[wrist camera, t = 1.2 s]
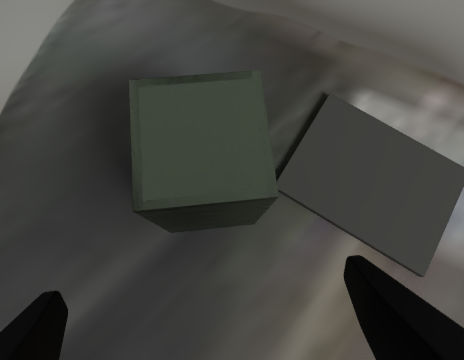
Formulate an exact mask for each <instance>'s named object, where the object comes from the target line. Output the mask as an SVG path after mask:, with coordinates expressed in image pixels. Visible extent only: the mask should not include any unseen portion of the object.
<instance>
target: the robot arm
mask: <svg viewBox="0 0 464 360" xmlns="http://www.w3.org/2000/svg"><path fill="white" fill-rule="evenodd" d="M344 281H345V284H346V287H347V290H348V293H349V295H350V298H351V301H352V304H353V307H354V310H355V313H356V316H357V318H358V321H359V324H360V326H361V329H362V331H363V333H364V335H365V337H366V340H367V342H368V344H369V346H370V348H371V350H372V352H373V354H374V356H375V359H376V360H464V328H463V327H462V326H460V325H459V324H457V323H456V322H455V321H453V320H452V319H450V318H449V317H447V316H446V315H445V314H443V313H442V312H440V311H439V310H438V309H436V308H435V307H433V306H432V305H430V304H429V303H428V302H426V301H425V300H423V299H422V298H421V297H419V296H418V295H416V294H415V293H413V292H412V291H411V290H409V289H408V288H406V287H405V286H404V285H402V284H401V283H399V282H398V281H397V280H395V279H394V278H392V277H391V276H389V275H388V274H387V273H385V272H384V271H382V270H381V269H380V268H378V267H377V266H375V265H374V264H372V263H371V262H370V261H368V260H367V259H365V258H364V257H362V256H360V255H355V256H349V257H347V259H346V264H345V270H344ZM67 317H68V308H67V306H66V304H65V302H64V300H63V298H62V296H61V294H60V292H59V291H49V292H44V293H42V294H41V295H40V296H39V297H38V298H37V299H35V300H34V301H33V302H32V303H31V304H30V305H29V306H28V307H27V308H26V309H25V310H24V311H22V312H21V313H20V314H19V315H18V316H17V317H16V318H15V319H14V320H13V321H12V322H11V323H10V324H8V325H7V326H6V327H5V328H4V329H3V330H2V331H1V332H0V360H59V357H60V352H61V347H62V342H63V337H64V332H65V327H66V322H67Z"/></svg>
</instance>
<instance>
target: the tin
mask: <svg viewBox="0 0 464 360" xmlns="http://www.w3.org/2000/svg"><path fill="white" fill-rule="evenodd" d="M129 96H130V127H131V158H132V189H133V211H134V212H135V213H137V214H139V215H141V216H142V217H144V218H146V219H148V220H149V221H151V222H153V223H155V224H156V225H158V226H160V227H162V228H163V229H165V230H167V231H169V232H171V233H174V232H183V231H193V230H202V229H212V228H221V227H231V226H240V225H250V224H255V223H256V222H257V221H258V219H259V218H260V217H261V216H262V215H263V214H264V213H265V212H266V210H267V209H268V208H269V207H270V206H271V205H272V204H273V203H274V201H275V200H276V199H277V198H278V197H279V194H278V188H277V181H276V174H275V167H274V160H273V154H272V147H271V140H270V133H269V126H268V120H267V113H266V106H265V99H264V92H263V86H262V79H261V72H260V70H254V71H241V72H228V73H215V74H202V75H189V76H176V77H163V78H150V79H137V80H129Z"/></svg>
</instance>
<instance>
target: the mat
mask: <svg viewBox="0 0 464 360" xmlns="http://www.w3.org/2000/svg"><path fill="white" fill-rule="evenodd" d="M463 187H464V167H463V166H461V165H459V164H457V163H455V162H454V161H452V160H450V159H448V158H446V157H445V156H443V155H441V154H439V153H437V152H436V151H434V150H432V149H430V148H428V147H427V146H425V145H423V144H421V143H419V142H417V141H416V140H414V139H412V138H410V137H408V136H407V135H405V134H403V133H401V132H399V131H398V130H396V129H394V128H392V127H390V126H389V125H387V124H385V123H383V122H381V121H380V120H378V119H376V118H374V117H372V116H371V115H369V114H367V113H365V112H363V111H362V110H360V109H358V108H356V107H354V106H353V105H351V104H349V103H347V102H345V101H344V100H342V99H340V98H338V97H336V96H335V95H333V94H331V93H330V94H329V96H328V97H327V99H326V101H325V102H324V104H323V106H322V107H321V109H320V111H319V112H318V114H317V116H316V117H315V119H314V121H313V122H312V124H311V125H310V127H309V129H308V130H307V132H306V134H305V135H304V137H303V139H302V140H301V142H300V144H299V145H298V147H297V149H296V150H295V152H294V154H293V155H292V157H291V159H290V160H289V162H288V164H287V165H286V167H285V169H284V170H283V172H282V174H281V175H280V177H279V178H278V180H277V188H278V191H279V192H280V193H282V194H284V195H285V196H287V197H289V198H290V199H292V200H294V201H295V202H297V203H299V204H300V205H302V206H303V207H305V208H307V209H308V210H310V211H312V212H313V213H315V214H317V215H318V216H320V217H322V218H323V219H325V220H327V221H328V222H330V223H332V224H333V225H335V226H337V227H338V228H340V229H342V230H343V231H345V232H347V233H348V234H350V235H352V236H353V237H355V238H357V239H358V240H360V241H362V242H363V243H365V244H366V245H368V246H370V247H371V248H373V249H375V250H376V251H378V252H380V253H381V254H383V255H385V256H386V257H388V258H390V259H391V260H393V261H395V262H396V263H398V264H400V265H401V266H403V267H405V268H406V269H408V270H410V271H411V272H413V273H415V274H416V275H418V276H420V277H424V276H425V273H426V271H427V269H428V267H429V264H430V262H431V260H432V258H433V255H434V253H435V251H436V248H437V246H438V244H439V242H440V239H441V237H442V235H443V232H444V230H445V228H446V226H447V223H448V221H449V219H450V216H451V214H452V212H453V210H454V207H455V205H456V203H457V200H458V198H459V196H460V194H461V191H462V189H463Z"/></svg>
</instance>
